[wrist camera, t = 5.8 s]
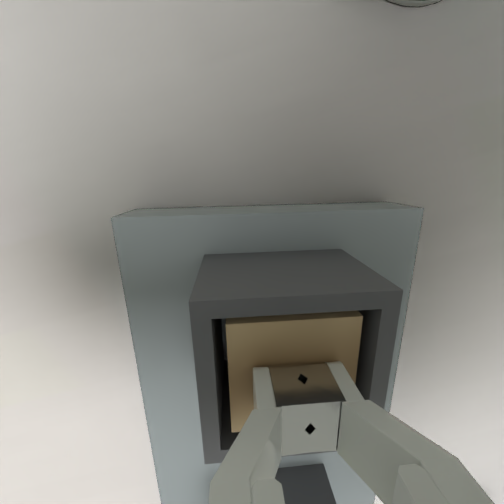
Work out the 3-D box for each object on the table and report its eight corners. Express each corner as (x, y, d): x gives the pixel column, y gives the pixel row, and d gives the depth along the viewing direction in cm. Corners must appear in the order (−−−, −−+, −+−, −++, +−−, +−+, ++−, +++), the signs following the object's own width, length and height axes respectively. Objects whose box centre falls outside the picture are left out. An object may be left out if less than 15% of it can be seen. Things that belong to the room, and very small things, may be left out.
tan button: (227, 276, 12) (225, 324, 8) (321, 272, 12) (363, 316, 8) (231, 357, 13) (231, 432, 9) (316, 351, 13) (350, 421, 10)
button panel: (135, 208, 14) (30, 245, 7) (386, 202, 15) (536, 227, 8) (180, 510, 21) (152, 691, 13) (349, 491, 22) (409, 651, 14)
